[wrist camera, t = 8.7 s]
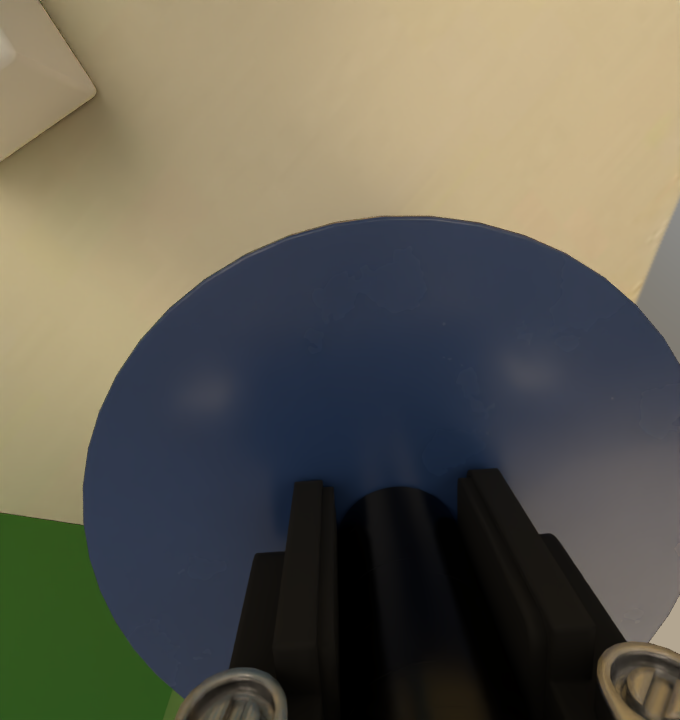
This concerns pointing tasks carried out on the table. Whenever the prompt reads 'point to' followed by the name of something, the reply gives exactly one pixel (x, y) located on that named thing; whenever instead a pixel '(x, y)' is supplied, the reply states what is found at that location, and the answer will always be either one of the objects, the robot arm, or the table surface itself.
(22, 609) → the hardback book
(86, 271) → the table surface
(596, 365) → the lid
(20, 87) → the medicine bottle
